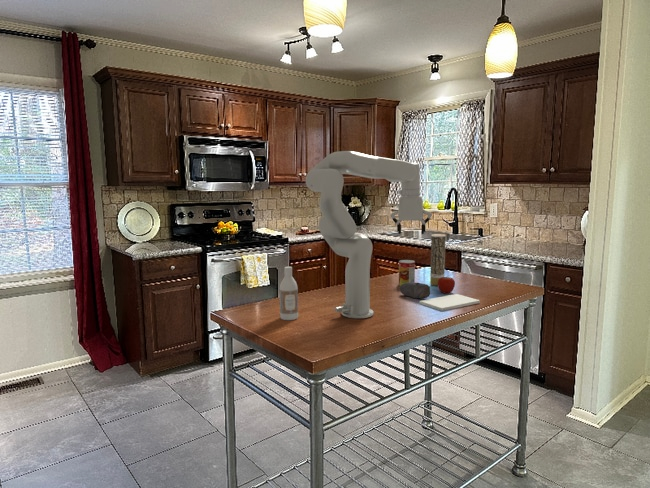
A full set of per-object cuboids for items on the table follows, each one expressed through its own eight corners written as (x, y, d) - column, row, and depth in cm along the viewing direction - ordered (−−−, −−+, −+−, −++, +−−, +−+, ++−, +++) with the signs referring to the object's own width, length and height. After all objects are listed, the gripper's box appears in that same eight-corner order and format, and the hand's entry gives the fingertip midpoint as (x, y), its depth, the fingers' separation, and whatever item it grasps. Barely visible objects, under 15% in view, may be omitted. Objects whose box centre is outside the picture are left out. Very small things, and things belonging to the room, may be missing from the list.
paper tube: (444, 286, 225) (446, 236, 221) (430, 286, 226) (431, 235, 223) (443, 283, 232) (445, 234, 228) (430, 282, 233) (431, 234, 229)
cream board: (441, 311, 184) (441, 308, 184) (419, 303, 195) (419, 300, 195) (479, 303, 195) (479, 300, 195) (456, 296, 206) (456, 293, 206)
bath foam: (281, 321, 173) (280, 269, 170) (279, 316, 179) (277, 265, 177) (299, 320, 174) (298, 268, 171) (296, 314, 181) (295, 264, 178)
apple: (453, 290, 217) (453, 274, 215) (456, 295, 209) (456, 278, 208) (436, 290, 217) (436, 274, 216) (438, 294, 210) (439, 278, 208)
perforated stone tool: (396, 295, 209) (396, 280, 208) (403, 293, 213) (404, 278, 212) (423, 301, 198) (424, 286, 197) (431, 299, 202) (431, 284, 201)
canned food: (402, 282, 235) (403, 259, 233) (417, 284, 230) (417, 260, 228) (395, 285, 228) (396, 261, 227) (410, 287, 224) (410, 263, 222)
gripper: (388, 194, 191) (389, 234, 194) (431, 193, 185) (431, 235, 188) (391, 192, 198) (392, 232, 201) (432, 191, 192) (432, 232, 195)
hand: (411, 233), depth 194 cm, fingers open, 9 cm apart
